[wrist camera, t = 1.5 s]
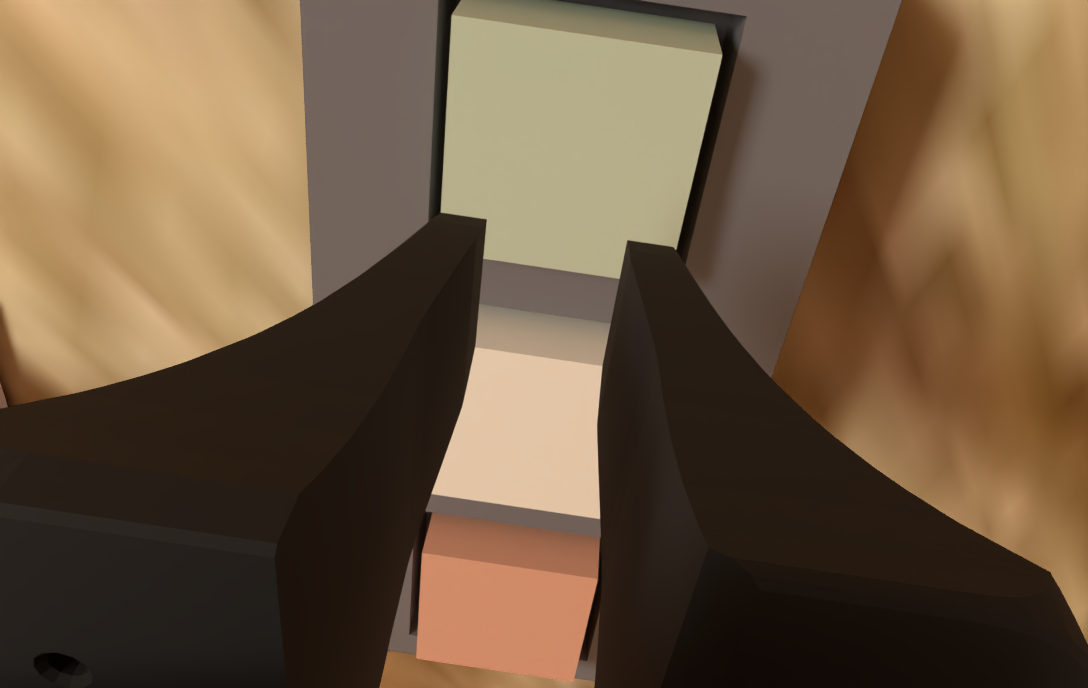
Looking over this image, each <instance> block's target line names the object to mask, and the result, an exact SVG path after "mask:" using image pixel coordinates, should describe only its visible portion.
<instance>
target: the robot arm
mask: <svg viewBox="0 0 1088 688" xmlns="http://www.w3.org/2000/svg"><path fill="white" fill-rule="evenodd" d="M486 223H487V219H481V218H475V217H468V216H461V215H454V214H447V213H440V214H439V215H437V216H436V217H434V218H433V219H432V220H430V221H429V222H428V223H426V224H425V225H424V226H423V227H421V228H420V229H419V230H418V231H417V232H415V233H414V234H413V235H412V236H410V237H409V238H408V239H407V240H405V241H404V242H403V243H402V244H400V245H399V246H398V247H397V248H395V249H394V250H393V251H392V252H390V253H389V254H388V255H386V256H385V257H384V258H382V259H381V260H380V261H378V262H377V263H376V264H374V265H373V266H372V267H370V268H369V269H368V270H366V271H365V272H364V273H362V274H361V275H359V276H358V277H357V278H355V279H354V280H352V281H350V282H349V283H347V284H346V285H344V286H343V287H341V288H340V289H338V290H337V291H335V292H333V293H332V294H330V295H329V296H327V297H326V298H324V299H323V300H321V301H319V302H318V303H316V304H314V305H312V306H311V307H309V308H307V309H305V310H304V311H302V312H300V313H298V314H296V315H294V316H292V317H290V318H288V319H286V320H284V321H282V322H280V323H278V324H276V325H274V326H272V327H270V328H268V329H266V330H264V331H262V332H260V333H258V334H255V335H253V336H251V337H249V338H246V339H244V340H241V341H238V342H236V343H233V344H231V345H228V346H226V347H223V348H221V349H218V350H215V351H213V352H210V353H208V354H205V355H203V356H200V357H197V358H195V359H192V360H190V361H187V362H184V363H181V364H178V365H175V366H172V367H169V368H166V369H163V370H159V371H156V372H153V373H150V374H147V375H143V376H140V377H136V378H133V379H129V380H125V381H122V382H118V383H115V384H111V385H107V386H104V387H100V388H95V389H91V390H87V391H83V392H79V393H75V394H70V395H65V396H60V397H55V398H50V399H45V400H40V401H35V402H30V403H26V404H21V405H16V406H11V407H8V406H7V402H6V399H5V396H4V393H3V390H2V387H1V383H0V688H379V686H380V682H381V678H382V673H383V669H384V664H385V660H386V656H387V651H388V647H389V643H390V638H391V634H392V630H393V625H394V621H395V617H396V613H397V609H398V604H399V600H400V596H401V592H402V588H403V583H404V579H405V575H406V571H407V567H408V563H409V559H410V556H411V553H412V549H413V546H414V543H415V540H416V536H417V533H418V530H419V527H420V525H421V522H422V519H423V516H424V513H425V511H426V508H427V505H428V502H429V499H430V497H431V494H432V491H433V488H434V485H435V482H436V480H437V477H438V474H439V471H440V468H441V466H442V463H443V460H444V457H445V454H446V452H447V449H448V446H449V443H450V440H451V437H452V435H453V432H454V429H455V426H456V423H457V420H458V417H459V414H460V412H461V409H462V406H463V401H464V397H465V392H466V388H467V383H468V379H469V374H470V369H471V364H472V360H473V355H474V350H475V345H476V334H477V323H478V312H479V301H480V290H481V279H482V268H483V256H484V245H485V234H486ZM597 444H598V474H599V501H600V528H601V556H602V580H601V605H600V619H599V633H598V647H597V661H596V674H595V687H594V688H1088V644H1087V642H1086V640H1085V638H1084V636H1083V634H1082V632H1081V629H1080V627H1079V625H1078V623H1077V621H1076V619H1075V617H1074V615H1073V613H1072V611H1071V609H1070V607H1069V606H1068V604H1067V602H1066V600H1065V598H1064V596H1063V594H1062V592H1061V590H1060V588H1059V587H1058V585H1057V583H1056V582H1055V580H1054V578H1053V577H1052V575H1051V573H1050V572H1049V571H1047V570H1045V569H1043V568H1041V567H1039V566H1038V565H1036V564H1034V563H1032V562H1030V561H1028V560H1026V559H1025V558H1023V557H1021V556H1019V555H1017V554H1015V553H1013V552H1012V551H1010V550H1008V549H1006V548H1004V547H1002V546H1001V545H999V544H997V543H995V542H993V541H991V540H989V539H988V538H986V537H984V536H982V535H980V534H978V533H976V532H975V531H973V530H971V529H969V528H967V527H965V526H963V525H962V524H960V523H958V522H957V521H955V520H953V519H952V518H950V517H948V516H947V515H945V514H943V513H942V512H940V511H939V510H937V509H936V508H934V507H932V506H931V505H929V504H928V503H926V502H925V501H923V500H921V499H920V498H918V497H917V496H915V495H914V494H912V493H910V492H909V491H907V490H906V489H904V488H903V487H901V486H900V485H898V484H897V483H896V482H894V481H893V480H891V479H890V478H888V477H887V476H885V475H884V474H883V473H881V472H880V471H878V470H877V469H875V468H874V467H873V466H871V465H870V464H869V463H867V462H866V461H865V460H864V459H862V458H861V457H860V456H858V455H857V454H856V453H855V452H853V451H852V450H851V449H849V448H848V447H847V446H845V445H844V444H843V443H842V442H840V441H839V440H838V439H836V438H835V437H834V436H833V435H832V434H830V433H829V432H828V431H827V430H826V429H824V428H823V427H822V426H821V425H820V424H819V423H817V422H816V421H815V420H814V419H813V418H812V417H811V416H810V415H809V414H807V413H806V412H805V411H804V410H803V409H802V408H801V407H800V406H799V405H798V404H797V403H796V402H795V401H794V400H793V399H792V398H791V397H789V396H788V395H787V394H786V393H785V392H784V391H783V390H782V389H781V388H780V387H779V386H778V385H777V384H776V383H775V382H774V381H773V380H772V379H771V378H770V377H769V375H768V374H767V373H766V372H765V371H764V370H763V369H762V368H761V367H760V365H759V364H758V363H757V362H756V361H755V360H754V358H753V357H752V356H751V355H750V354H749V353H748V352H747V350H746V349H745V348H744V347H743V346H742V345H741V343H740V342H739V341H738V340H737V338H736V337H735V336H734V335H733V333H732V332H731V331H730V329H729V328H728V327H727V325H726V324H725V323H724V321H723V320H722V319H721V317H720V316H719V315H718V313H717V312H716V310H715V309H714V308H713V306H712V305H711V303H710V302H709V300H708V299H707V297H706V296H705V294H704V293H703V291H702V290H701V288H700V287H699V285H698V284H697V282H696V281H695V279H694V278H693V276H692V274H691V273H690V271H689V270H688V268H687V267H686V265H685V263H684V262H683V260H682V259H681V257H680V256H679V254H678V253H677V251H676V250H675V248H674V247H671V246H664V245H657V244H650V243H644V242H637V241H630V240H627V244H626V249H625V254H624V259H623V264H622V269H621V274H620V279H619V284H618V289H617V294H616V299H615V304H614V309H613V314H612V320H611V325H610V330H609V335H608V340H607V345H606V350H605V355H604V360H603V365H602V376H601V386H600V397H599V408H598V419H597Z"/></svg>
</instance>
